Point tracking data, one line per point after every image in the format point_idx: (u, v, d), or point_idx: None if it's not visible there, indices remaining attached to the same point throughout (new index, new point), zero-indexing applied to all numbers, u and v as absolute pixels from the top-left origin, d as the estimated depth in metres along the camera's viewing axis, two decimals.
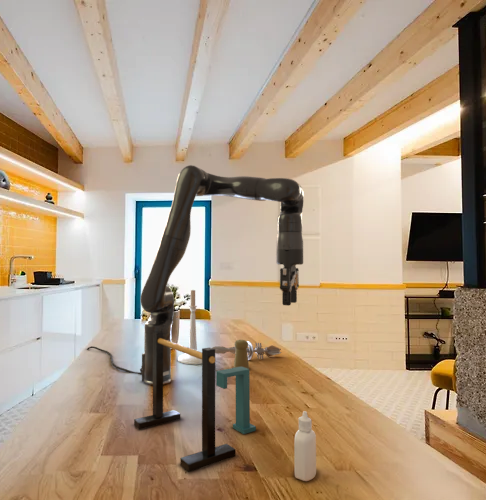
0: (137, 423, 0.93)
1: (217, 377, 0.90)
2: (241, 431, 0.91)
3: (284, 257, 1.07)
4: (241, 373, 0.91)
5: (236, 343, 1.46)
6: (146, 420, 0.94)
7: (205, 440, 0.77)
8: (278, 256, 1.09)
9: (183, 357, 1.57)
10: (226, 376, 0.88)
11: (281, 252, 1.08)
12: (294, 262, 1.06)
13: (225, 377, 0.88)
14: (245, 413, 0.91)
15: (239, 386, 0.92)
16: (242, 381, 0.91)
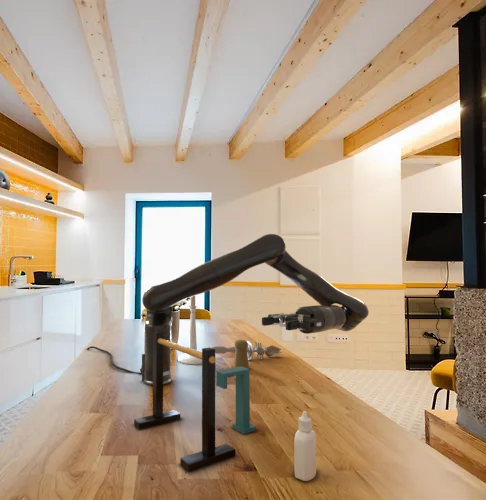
0: (137, 423, 0.93)
1: (217, 377, 0.90)
2: (241, 431, 0.91)
3: (319, 318, 1.03)
4: (241, 373, 0.91)
5: (236, 343, 1.46)
6: (146, 420, 0.94)
7: (205, 440, 0.77)
8: (316, 311, 1.04)
9: (183, 357, 1.57)
10: (226, 376, 0.88)
11: (321, 314, 1.04)
12: None
13: (225, 377, 0.88)
14: (245, 413, 0.91)
15: (239, 386, 0.92)
16: (242, 381, 0.91)
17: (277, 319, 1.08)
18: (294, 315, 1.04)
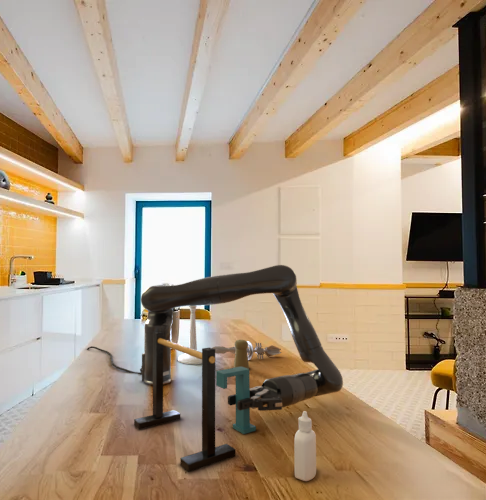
0: (137, 423, 0.93)
1: (217, 377, 0.90)
2: (241, 431, 0.91)
3: (286, 394, 0.95)
4: (241, 373, 0.91)
5: (236, 343, 1.46)
6: (146, 420, 0.94)
7: (205, 440, 0.77)
8: (284, 385, 0.97)
9: (183, 357, 1.57)
10: (226, 376, 0.88)
11: (289, 389, 0.97)
12: (281, 405, 0.95)
13: (225, 377, 0.88)
14: (245, 413, 0.91)
15: (239, 386, 0.92)
16: (242, 381, 0.91)
17: None
18: (260, 389, 0.97)
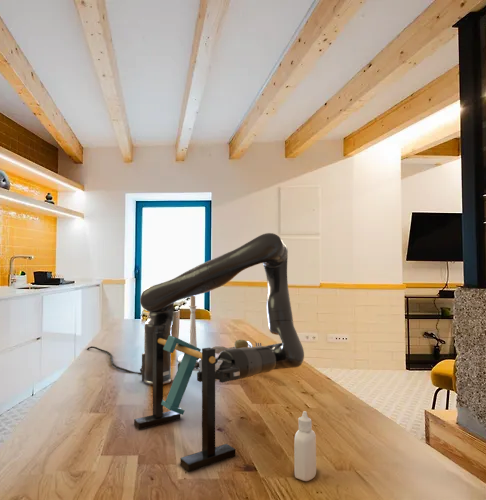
0: (137, 423, 0.93)
1: (167, 341, 0.87)
2: (168, 407, 0.84)
3: (241, 365, 0.93)
4: (191, 348, 0.88)
5: (236, 343, 1.46)
6: (146, 420, 0.94)
7: (205, 440, 0.77)
8: (239, 356, 0.94)
9: None
10: (176, 341, 0.86)
11: (245, 360, 0.94)
12: None
13: (175, 341, 0.86)
14: (179, 390, 0.86)
15: (184, 362, 0.88)
16: (189, 357, 0.88)
17: (198, 363, 0.98)
18: None
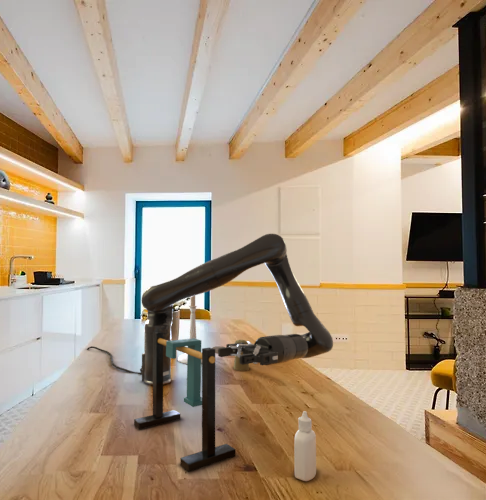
0: (137, 423, 0.93)
1: (167, 347, 0.87)
2: (191, 404, 0.88)
3: (277, 350, 0.99)
4: (192, 344, 0.88)
5: None
6: (146, 420, 0.94)
7: (205, 440, 0.77)
8: (275, 342, 1.00)
9: (183, 357, 1.57)
10: (175, 346, 0.86)
11: (280, 346, 1.00)
12: None
13: (174, 346, 0.85)
14: (195, 385, 0.88)
15: (190, 358, 0.89)
16: None
17: (236, 349, 1.04)
18: (252, 346, 1.01)
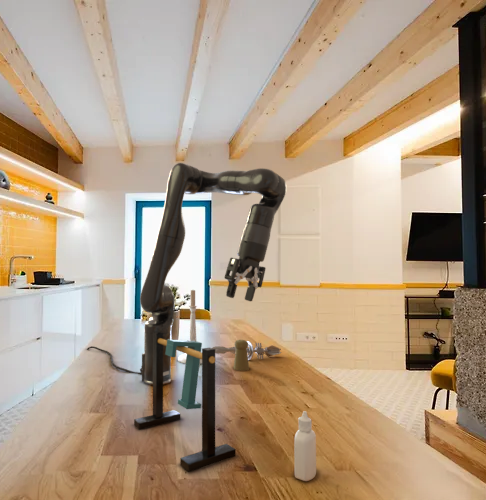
0: (137, 423, 0.93)
1: (167, 345, 0.87)
2: (185, 406, 0.87)
3: (241, 248, 1.02)
4: (192, 345, 0.88)
5: (236, 343, 1.46)
6: (146, 420, 0.94)
7: (205, 440, 0.77)
8: None
9: (183, 357, 1.57)
10: (176, 344, 0.86)
11: (241, 243, 1.03)
12: (249, 255, 1.00)
13: (174, 345, 0.85)
14: (191, 388, 0.88)
15: (189, 359, 0.89)
16: None
17: (258, 276, 1.07)
18: None
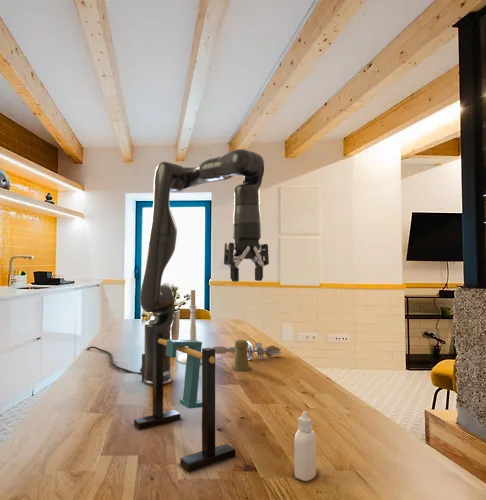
0: (137, 423, 0.93)
1: (167, 346, 0.87)
2: (187, 405, 0.87)
3: (234, 232, 1.03)
4: (192, 345, 0.88)
5: (236, 343, 1.46)
6: (146, 420, 0.94)
7: (205, 440, 0.77)
8: None
9: (183, 357, 1.57)
10: (176, 345, 0.86)
11: (233, 227, 1.04)
12: (242, 236, 1.01)
13: (174, 345, 0.85)
14: (193, 387, 0.88)
15: (190, 359, 0.89)
16: None
17: (262, 255, 1.07)
18: None
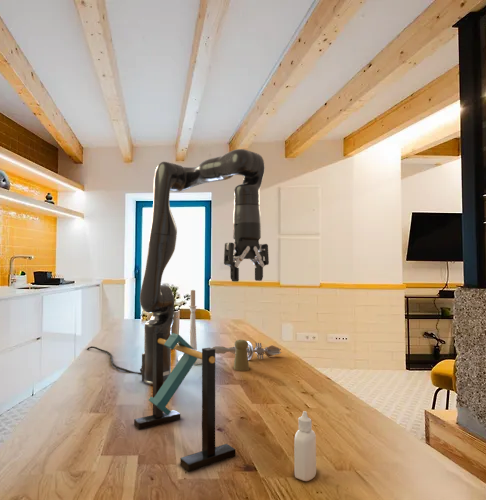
0: (137, 423, 0.93)
1: (169, 337, 0.88)
2: (156, 403, 0.83)
3: (234, 232, 1.03)
4: None
5: (236, 343, 1.46)
6: (146, 420, 0.94)
7: (205, 440, 0.77)
8: None
9: None
10: (179, 338, 0.86)
11: (233, 227, 1.04)
12: (242, 236, 1.01)
13: (178, 338, 0.86)
14: (170, 389, 0.85)
15: (181, 363, 0.88)
16: (187, 359, 0.88)
17: (262, 255, 1.07)
18: None
